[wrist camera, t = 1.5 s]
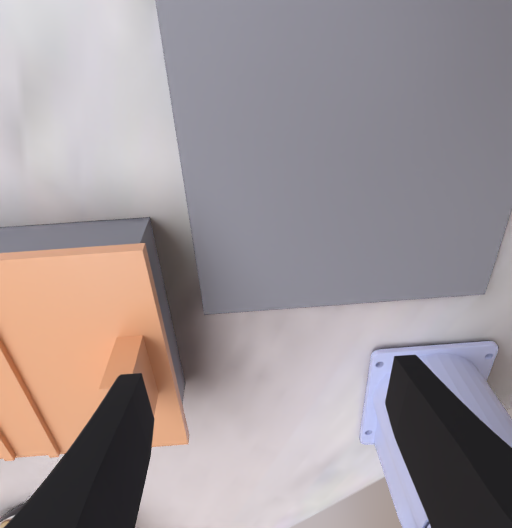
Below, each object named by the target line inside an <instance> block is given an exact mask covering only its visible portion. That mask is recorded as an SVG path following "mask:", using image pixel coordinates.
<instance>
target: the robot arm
mask: <svg viewBox="0 0 512 528" xmlns="http://www.w3.org/2000/svg"><path fill="white" fill-rule="evenodd" d="M498 349H499V347H498V345H497V344H496V343H495V342H494V341H483V342H469V343H456V344H443V345H429V346H416V347H402V348H389V349H378V350H375V351H374V352H373V353H372V354H371V359H370V366H369V373H368V380H367V387H366V394H365V401H364V408H363V415H362V422H361V429H360V436H359V438H360V442H361V443H362V444H365V445H368V444H375V447H376V450H377V453H378V456H379V460H380V463H381V466H382V469H383V472H384V475H385V478H386V481H387V484H388V487H389V490H390V493H391V496H392V499H393V502H394V506H395V509H396V512H397V515H398V518H399V521H400V523H401V525H402V527H403V528H512V419H511V417H510V416H509V414H508V413H507V411H506V410H505V408H504V407H503V405H502V404H501V402H500V401H499V399H498V398H497V396H496V395H495V393H494V392H493V391H492V389H491V388H490V386H489V385H488V383H487V382H486V381H487V379H488V376H489V373H490V371H491V368H492V365H493V363H494V360H495V357H496V355H497V352H498ZM377 362H379V363H377ZM153 429H154V416H153V412H152V408H151V405H150V401H149V398H148V394H147V390H146V387H145V383H144V380H143V376H142V373H135V374H121V375H119V376H118V377H117V378H116V380H115V382H114V383H113V385H112V386H111V388H110V389H109V391H108V393H107V394H106V396H105V397H104V399H103V400H102V402H101V403H100V405H99V406H98V408H97V409H96V411H95V412H94V414H93V415H92V417H91V418H90V420H89V421H88V423H87V424H86V426H85V427H84V428H83V430H82V431H81V433H80V434H79V435H78V437H77V438H76V440H75V441H74V443H73V444H72V445H71V447H70V448H69V449H68V451H67V452H66V453H65V455H64V456H63V457H62V459H61V460H60V461H59V462H58V464H57V465H56V466H55V468H54V469H53V470H52V471H51V473H50V474H49V475H48V477H47V478H46V479H45V480H44V482H43V483H42V484H41V485H40V487H39V488H38V489H37V490H36V491H35V493H34V494H33V495H32V496H31V497H30V499H29V500H28V501H27V502H26V503H25V504H24V505H23V507H22V508H21V509H20V510H19V511H18V512H17V513H16V515H15V516H14V517H13V518H12V519H11V520H10V521H9V522H8V523H7V524H6V526H5V527H4V528H135V524H136V520H137V515H138V511H139V506H140V502H141V497H142V493H143V488H144V484H145V479H146V475H147V470H148V466H149V461H150V456H151V448H152V439H153Z"/></svg>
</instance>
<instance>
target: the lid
mask: <svg viewBox="0 0 512 528" xmlns="http://www.w3.org/2000/svg"><path fill="white" fill-rule="evenodd" d="M135 373H142V376H143V380H144V383H145V387H146V390H147V394H148V398H149V401H150V405H151V408H152V412H153V416H154V429H153V439H152V447H158V446H171V445H183V444H188V443H189V431H188V427H187V423H186V418H185V414H184V410H183V405H182V401H181V397H180V392H179V388H178V383H177V379H176V375H175V370H174V366H173V362H172V357H171V353H170V349H169V344H168V340H167V336H166V331H165V327H164V323H163V318H162V314H161V309H160V305H159V301H158V296H157V292H156V288H155V283H154V279H153V275H152V270H151V266H150V262H149V257H148V253H147V248H146V244H145V243H137V244H123V245H108V246H94V247H80V248H66V249H51V250H37V251H23V252H9V253H0V459H4V460H5V461H12V460H15V458H17V457H29V456H42V455H49V457H50V458H51V457H59V455H60V454H65V453H66V452H67V451H68V449H69V448H70V447H71V445H72V444H73V443H74V441H75V440H76V438H77V437H78V435H79V434H80V433H81V431H82V430H83V428H84V427H85V426H86V424H87V423H88V421H89V420H90V418H91V417H92V415H93V414H94V412H95V411H96V409H97V408H98V406H99V405H100V403H101V402H102V400H103V399H104V397H105V396H106V394H107V393H108V391H109V389H110V388H111V386H112V385H113V383H114V382H115V380H116V378H117V377H118V376H119V375H121V374H135Z"/></svg>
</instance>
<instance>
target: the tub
mask: <svg viewBox="0 0 512 528" xmlns="http://www.w3.org/2000/svg"><path fill="white" fill-rule="evenodd" d="M137 243H145V244H146V248H147V253H148V257H149V262H150V266H151V270H152V275H153V279H154V283H155V288H156V292H157V296H158V301H159V305H160V309H161V314H162V318H163V323H164V327H165V331H166V336H167V340H168V344H169V349H170V353H171V357H172V362H173V366H174V370H175V375H176V379H177V383H178V388H179V392H180V397H181V401H182V405H183V397H184V389H185V380H184V375H183V370H182V366H181V361H180V356H179V352H178V347H177V342H176V338H175V333H174V328H173V324H172V319H171V314H170V310H169V305H168V300H167V296H166V291H165V286H164V281H163V277H162V272H161V267H160V263H159V258H158V253H157V249H156V244H155V239H154V235H153V230H152V225H151V221H150V217H147V218H133V219H118V220H104V221H89V222H75V223H60V224H46V225H31V226H17V227H2V228H0V253H9V252H23V251H37V250H51V249H66V248H80V247H94V246H108V245H123V244H137Z"/></svg>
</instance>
